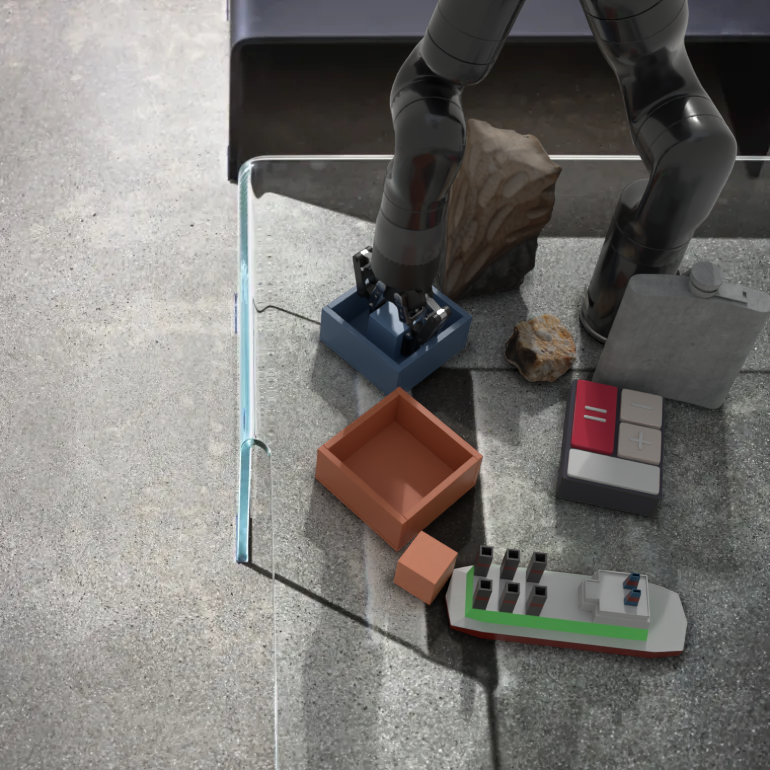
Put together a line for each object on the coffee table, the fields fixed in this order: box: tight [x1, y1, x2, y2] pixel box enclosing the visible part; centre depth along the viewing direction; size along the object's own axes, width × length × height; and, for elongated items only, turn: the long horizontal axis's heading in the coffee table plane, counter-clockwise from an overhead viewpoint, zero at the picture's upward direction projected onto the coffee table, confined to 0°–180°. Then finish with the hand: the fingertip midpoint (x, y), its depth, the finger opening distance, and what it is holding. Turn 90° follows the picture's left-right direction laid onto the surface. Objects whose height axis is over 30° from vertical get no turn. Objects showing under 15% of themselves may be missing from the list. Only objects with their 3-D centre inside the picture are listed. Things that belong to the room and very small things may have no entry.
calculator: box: [555, 378, 666, 518], centre depth 131 cm, size 11×4×15 cm
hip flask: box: [591, 260, 770, 410], centre depth 131 cm, size 16×4×20 cm, turn 84°
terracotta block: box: [393, 530, 459, 606], centre depth 119 cm, size 4×4×4 cm
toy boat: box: [444, 544, 688, 659], centre depth 116 cm, size 8×25×8 cm, turn 85°
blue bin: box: [318, 279, 474, 396], centre depth 137 cm, size 13×13×6 cm
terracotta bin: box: [314, 387, 484, 553], centre depth 125 cm, size 13×13×6 cm
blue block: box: [367, 301, 415, 360], centre depth 137 cm, size 4×4×4 cm
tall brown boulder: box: [437, 118, 563, 303], centre depth 141 cm, size 13×13×20 cm
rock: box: [503, 313, 578, 383], centre depth 139 cm, size 9×6×10 cm
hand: (392, 338), depth 139 cm, fingers closed on blue block, 4 cm apart
